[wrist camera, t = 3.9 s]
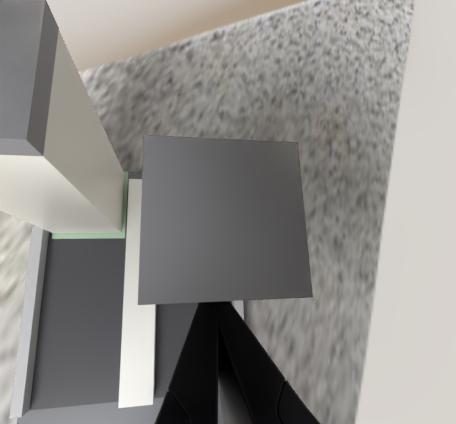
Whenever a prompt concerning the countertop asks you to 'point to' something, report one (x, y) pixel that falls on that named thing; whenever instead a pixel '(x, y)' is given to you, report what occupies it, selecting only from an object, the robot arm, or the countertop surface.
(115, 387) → the switch board
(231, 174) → the tab
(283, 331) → the countertop surface
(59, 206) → the tab
